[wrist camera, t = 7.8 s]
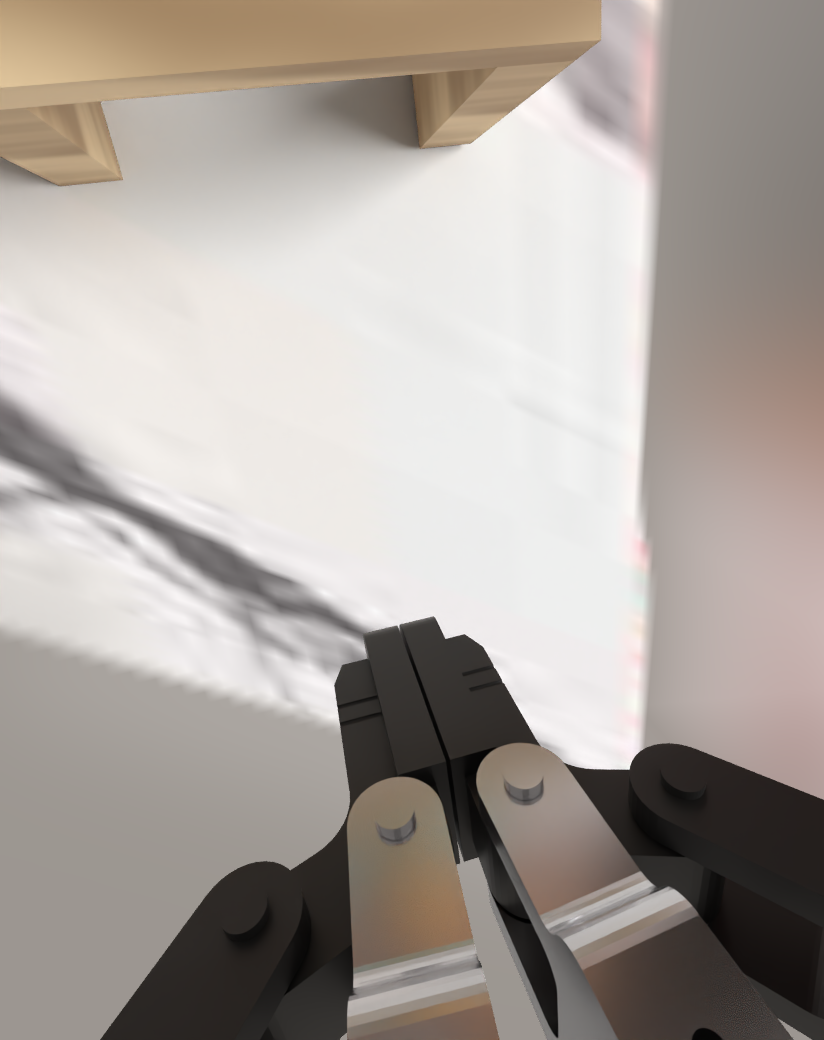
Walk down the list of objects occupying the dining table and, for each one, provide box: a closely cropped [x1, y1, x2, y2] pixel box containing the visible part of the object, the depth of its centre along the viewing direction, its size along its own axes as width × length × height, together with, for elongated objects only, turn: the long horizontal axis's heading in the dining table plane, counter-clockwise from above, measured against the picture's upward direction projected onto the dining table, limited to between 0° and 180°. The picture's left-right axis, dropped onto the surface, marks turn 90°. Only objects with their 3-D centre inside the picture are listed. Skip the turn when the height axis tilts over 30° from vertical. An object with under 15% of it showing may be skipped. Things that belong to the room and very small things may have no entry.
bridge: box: [0, 0, 601, 186], centre depth 15 cm, size 3×14×9 cm, turn 98°
